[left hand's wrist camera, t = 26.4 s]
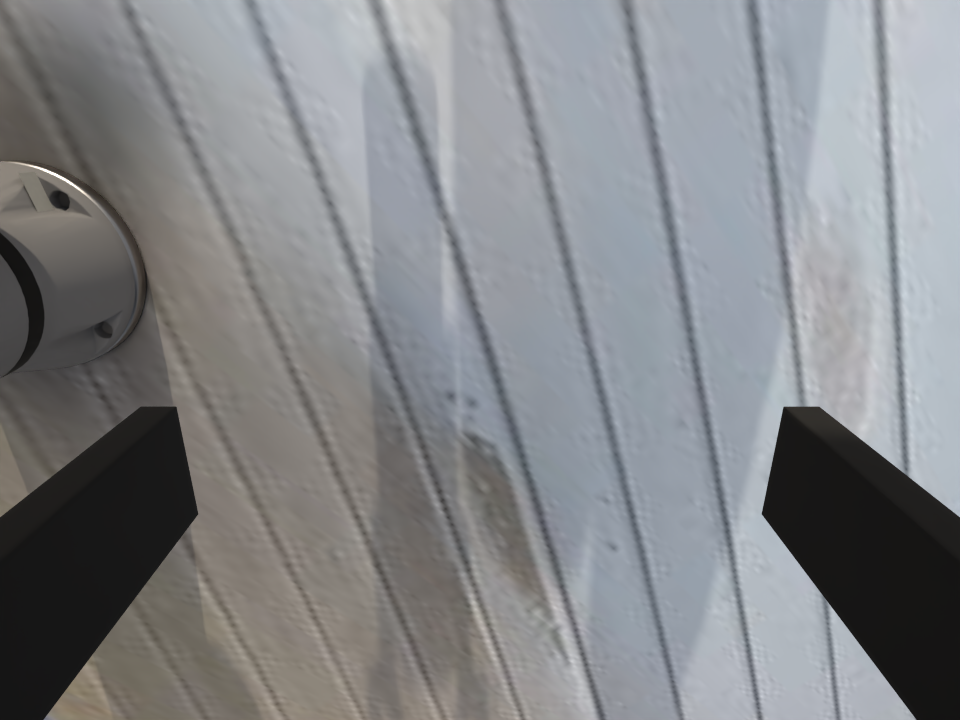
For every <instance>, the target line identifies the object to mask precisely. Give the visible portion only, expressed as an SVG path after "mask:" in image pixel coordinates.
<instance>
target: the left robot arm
mask: <svg viewBox="0 0 960 720" xmlns="http://www.w3.org/2000/svg"><path fill="white" fill-rule="evenodd" d="M145 295H146V277H145V270H144V265H143V261H142V257H141V254H140V252H139V249H138V246H137V244H136V242H135V240H134V238H133V236H132V234H131V232H130V230H129V229H128V227H127V226H126V224H125V223H124V221H123V220H122V218H121V217H120V216H119V214H118V213H117V212H116V211H115V209H114V208H113V207H112V206H111V205H110V204H109V203H108V202H107V201H106V200H105V199H104V198H103V197H102V196H101V195H99V194H98V193H97V192H96V191H95V190H93V189H92V188H91V187H89V186H88V185H86V184H85V183H83V182H82V181H80V180H79V179H77V178H75V177H73V176H72V175H70V174H68V173H65V172H63V171H61V170H59V169H56V168H53V167H50V166H47V165H43V164H39V163H34V162H28V161H0V378H2V377H4V376H6V375H8V374H10V373H17V372H27V371H38V370H49V369H59V368H66V367H71V366H75V365H79V364H82V363H86V362H88V361H91V360H93V359H96V358H98V357H100V356H101V355H103V354H105V353H107V352H108V351H110V350H112V349H113V348H115V347H116V346H118V345H119V344H120V343H121V342H123V341H124V340H125V339H126V338H127V337H128V336H129V335H130V333H131V332H132V330H133V329H134V328H135V326H136V324H137V322H138V320H139V318H140V316H141V313H142V310H143V306H144V302H145ZM197 515H198V511H197V506H196V501H195V496H194V491H193V486H192V481H191V476H190V471H189V467H188V462H187V457H186V452H185V447H184V442H183V437H182V432H181V427H180V422H179V417H178V413H177V408H176V407H140V408H139V409H137V410H136V411H135V412H134V413H132V414H131V415H130V416H128V417H127V418H126V419H125V420H123V421H122V422H121V423H120V424H118V425H117V426H116V427H115V428H113V429H112V430H111V431H109V432H108V433H107V434H106V435H104V436H103V437H102V438H101V439H99V440H98V441H97V442H95V443H94V444H93V445H92V446H90V447H89V448H88V449H87V450H85V451H84V452H83V453H81V454H80V455H79V456H78V457H76V458H75V459H74V460H73V461H71V462H70V463H69V464H67V465H66V466H65V467H64V468H62V469H61V470H60V471H59V472H57V473H56V474H55V475H53V476H52V477H51V478H50V479H48V480H47V481H46V482H45V483H43V484H42V485H41V486H40V487H38V488H37V489H36V490H34V491H33V492H32V493H31V494H29V495H28V496H27V497H26V498H24V499H23V500H22V501H20V502H19V503H18V504H17V505H15V506H14V507H13V508H12V509H10V510H9V511H8V512H6V513H5V514H4V515H3V516H1V517H0V720H44V718H45V717H46V716H47V714H48V713H49V712H50V710H51V709H52V708H53V706H54V705H55V704H56V702H57V701H58V700H59V698H60V697H61V696H62V694H63V693H64V692H65V690H66V689H67V688H68V686H69V685H70V684H71V682H72V681H73V680H74V678H75V677H76V676H77V674H78V673H79V672H80V670H81V669H82V668H83V666H84V665H85V664H86V662H87V661H88V660H89V658H90V657H91V656H92V654H93V653H94V652H95V650H96V649H97V648H98V646H99V645H100V644H101V643H102V641H103V640H104V639H105V637H106V636H107V635H108V633H109V632H110V631H111V629H112V628H113V627H114V625H115V624H116V623H117V621H118V620H119V619H120V617H121V616H122V615H123V613H124V612H125V611H126V609H127V608H128V607H129V605H130V604H131V603H132V601H133V600H134V599H135V597H136V596H137V595H138V593H139V592H140V591H141V589H142V588H143V587H144V585H145V584H146V583H147V581H148V580H149V579H150V577H151V576H152V575H153V573H154V572H155V571H156V569H157V568H158V567H159V566H160V564H161V563H162V562H163V560H164V559H165V558H166V556H167V555H168V554H169V552H170V551H171V550H172V548H173V547H174V546H175V544H176V543H177V542H178V540H179V539H180V538H181V536H182V535H183V534H184V532H185V531H186V530H187V528H188V527H189V526H190V524H191V523H192V522H193V520H194V519H195V518H196V516H197ZM762 515H763V516H764V518H765V519H766V520H767V522H768V523H769V524H770V526H771V527H772V528H773V530H774V531H775V532H776V534H777V535H778V536H779V538H780V539H781V540H782V542H783V543H784V544H785V546H786V547H787V548H788V550H789V551H790V552H791V554H792V555H793V556H794V558H795V559H796V560H797V562H798V563H799V564H800V566H801V567H802V568H803V569H804V571H805V572H806V573H807V575H808V576H809V577H810V579H811V580H812V581H813V583H814V584H815V585H816V587H817V588H818V589H819V591H820V592H821V593H822V595H823V596H824V597H825V599H826V600H827V601H828V603H829V604H830V605H831V607H832V608H833V609H834V611H835V612H836V613H837V615H838V616H839V617H840V619H841V620H842V621H843V623H844V624H845V625H846V627H847V628H848V629H849V631H850V632H851V633H852V635H853V636H854V637H855V639H856V640H857V641H858V643H859V644H860V645H861V646H862V648H863V649H864V650H865V652H866V653H867V654H868V656H869V657H870V658H871V660H872V661H873V662H874V664H875V665H876V666H877V668H878V669H879V670H880V672H881V673H882V674H883V676H884V677H885V678H886V680H887V681H888V682H889V684H890V685H891V686H892V688H893V689H894V690H895V692H896V693H897V694H898V696H899V697H900V698H901V700H902V701H903V702H904V704H905V705H906V706H907V708H908V709H909V710H910V712H911V713H912V714H913V716H914V717H915V718H916V720H960V517H959V516H957V515H956V514H955V513H954V512H952V511H951V510H950V509H948V508H947V507H946V506H945V505H943V504H942V503H941V502H940V501H938V500H937V499H936V498H934V497H933V496H932V495H931V494H929V493H928V492H927V491H926V490H924V489H923V488H922V487H920V486H919V485H918V484H917V483H915V482H914V481H913V480H912V479H910V478H909V477H908V476H907V475H905V474H904V473H903V472H901V471H900V470H899V469H898V468H896V467H895V466H894V465H893V464H891V463H890V462H889V461H887V460H886V459H885V458H884V457H882V456H881V455H880V454H879V453H877V452H876V451H875V450H873V449H872V448H871V447H870V446H868V445H867V444H866V443H865V442H863V441H862V440H861V439H859V438H858V437H857V436H856V435H854V434H853V433H852V432H851V431H849V430H848V429H847V428H845V427H844V426H843V425H842V424H840V423H839V422H838V421H837V420H835V419H834V418H833V417H831V416H830V415H829V414H828V413H826V412H825V411H824V410H823V409H821V408H820V407H784V408H783V413H782V417H781V422H780V427H779V432H778V437H777V442H776V447H775V452H774V457H773V462H772V467H771V471H770V476H769V481H768V486H767V491H766V496H765V501H764V506H763V511H762Z"/></svg>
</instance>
